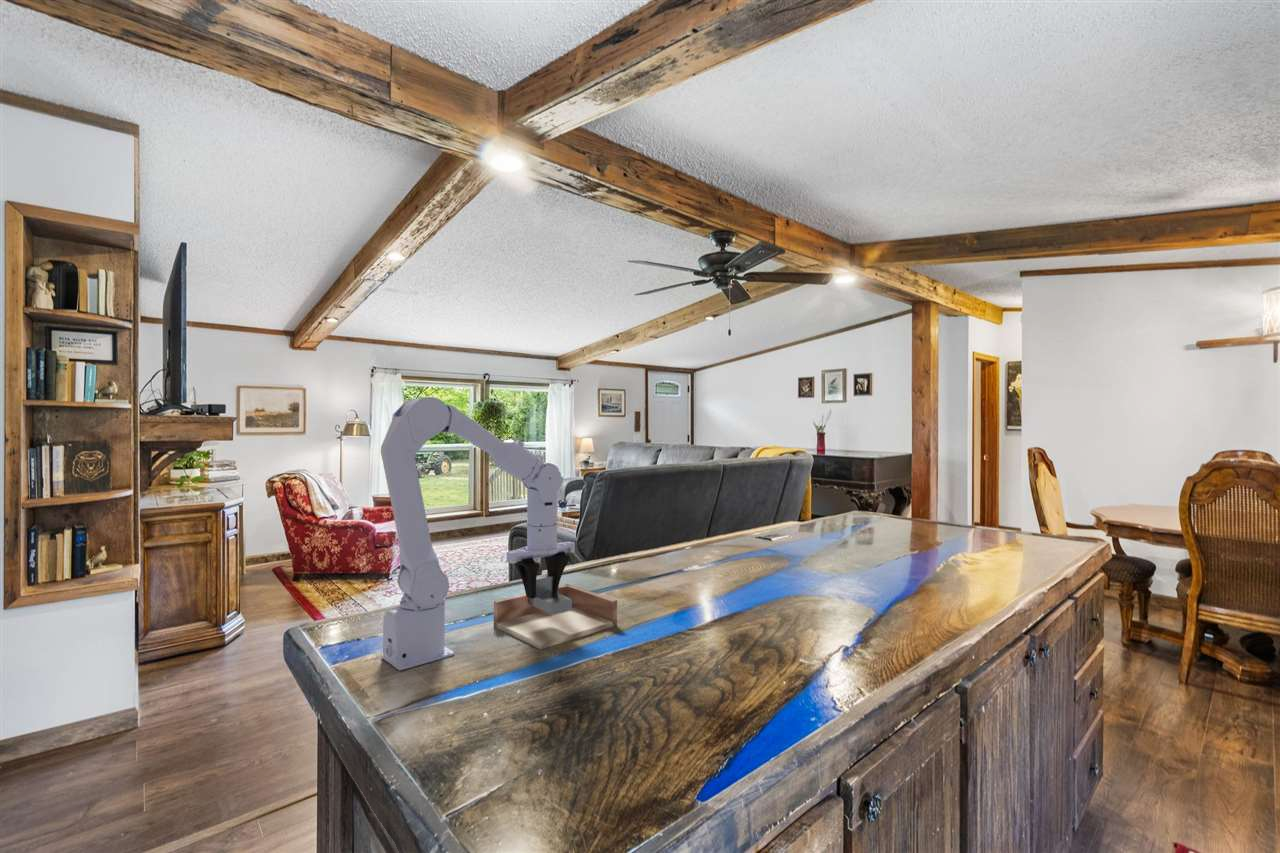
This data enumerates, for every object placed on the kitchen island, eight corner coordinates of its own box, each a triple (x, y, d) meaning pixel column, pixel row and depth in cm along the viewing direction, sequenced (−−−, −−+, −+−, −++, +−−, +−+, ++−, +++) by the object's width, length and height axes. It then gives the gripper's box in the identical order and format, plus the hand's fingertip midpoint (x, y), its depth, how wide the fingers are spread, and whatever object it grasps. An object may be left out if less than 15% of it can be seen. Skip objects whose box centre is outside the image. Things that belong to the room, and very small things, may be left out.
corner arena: (540, 649, 102) (541, 621, 102) (493, 626, 113) (493, 601, 113) (617, 625, 114) (617, 600, 114) (567, 607, 126) (567, 584, 126)
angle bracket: (527, 603, 111) (528, 577, 111) (546, 598, 114) (548, 573, 114) (552, 615, 106) (553, 587, 105) (571, 610, 109) (572, 583, 109)
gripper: (521, 531, 104) (520, 607, 104) (584, 522, 114) (584, 591, 114) (500, 526, 109) (500, 598, 109) (563, 518, 119) (562, 584, 119)
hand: (541, 594), depth 112 cm, fingers closed on angle bracket, 4 cm apart
